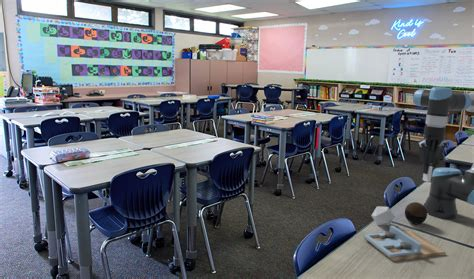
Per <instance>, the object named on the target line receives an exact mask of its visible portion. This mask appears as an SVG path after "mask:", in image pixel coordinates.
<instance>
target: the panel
mask: <svg viewBox="0 0 474 279" xmlns="http://www.w3.org/2000/svg"><path fill="white" fill-rule="evenodd" d="M389 232H393V233H395V234H396V236H395V238H387V239H385V240H384V241H375V240H374V239H372V238H371V237H380V238H385V237H387V236H385V232H377V233H367V234H363V239H364V238H365V239H367V240H368V241H369V242H371V243H372V244H373V245H375V246H376V247H377V248H378V249H380V250H381V251H382V252H384V253H385V254H386V255H388V256H389V257H395V256H403V255H410V254H418V253H421V247H422V244H421V243H419V242H418V241H416V240H415V239H413V238H412V237H410V236H408V235H407V234H405V233H404V231H402V230H401V229H400V228H397V227H396V226H394V225H389ZM365 239H364V240H365ZM367 240H366V241H367ZM368 241H367V242H368ZM369 242H368V243H369ZM401 242H407V243H410V244H411V245H412V247H411V249H404V250H400V252H395V253H391V252H390V251H388V250H387V249H386V248H392V247H393V248H395V249H399V248H403V247H401V246H400V243H401ZM372 244H371V245H372ZM373 245H372V246H373ZM376 247H375V248H376ZM377 248H376V249H377ZM378 249H377V250H378ZM381 251H380V252H381ZM382 252H381V253H382ZM385 254H384V255H385ZM386 255H385V256H386Z"/></svg>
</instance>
